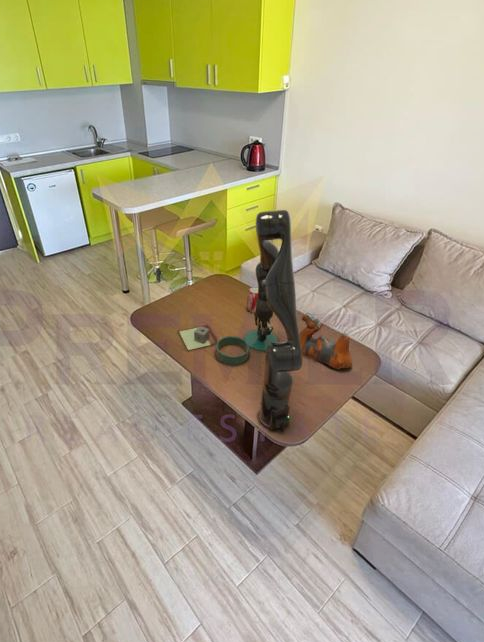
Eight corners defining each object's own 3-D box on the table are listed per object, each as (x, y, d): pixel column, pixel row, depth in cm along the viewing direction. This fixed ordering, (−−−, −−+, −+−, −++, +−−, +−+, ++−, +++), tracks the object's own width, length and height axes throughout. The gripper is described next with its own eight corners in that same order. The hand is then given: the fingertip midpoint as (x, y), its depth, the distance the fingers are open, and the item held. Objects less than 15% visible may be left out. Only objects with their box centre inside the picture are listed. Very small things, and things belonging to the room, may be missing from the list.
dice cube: (203, 344, 164) (203, 335, 161) (194, 340, 166) (194, 331, 163) (209, 338, 167) (209, 329, 164) (199, 334, 169) (199, 325, 167)
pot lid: (283, 347, 163) (285, 335, 159) (253, 355, 158) (254, 343, 155) (267, 328, 174) (269, 317, 171) (239, 335, 170) (240, 323, 166)
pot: (253, 361, 155) (254, 352, 152) (223, 369, 151) (223, 360, 148) (240, 341, 166) (240, 333, 163) (211, 348, 162) (211, 339, 159)
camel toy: (355, 366, 153) (365, 333, 144) (335, 379, 146) (345, 346, 137) (309, 336, 170) (315, 304, 161) (289, 346, 163) (294, 314, 154)
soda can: (259, 314, 184) (261, 294, 178) (245, 312, 185) (247, 292, 179) (261, 307, 190) (263, 287, 183) (247, 305, 191) (249, 285, 184)
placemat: (218, 343, 165) (218, 343, 164) (188, 350, 160) (188, 349, 160) (207, 326, 176) (207, 325, 175) (179, 332, 171) (179, 331, 171)
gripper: (249, 299, 160) (247, 330, 170) (264, 316, 149) (261, 349, 159) (265, 296, 162) (261, 327, 172) (281, 313, 151) (276, 345, 161)
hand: (261, 337), depth 165 cm, fingers closed on pot lid, 3 cm apart
